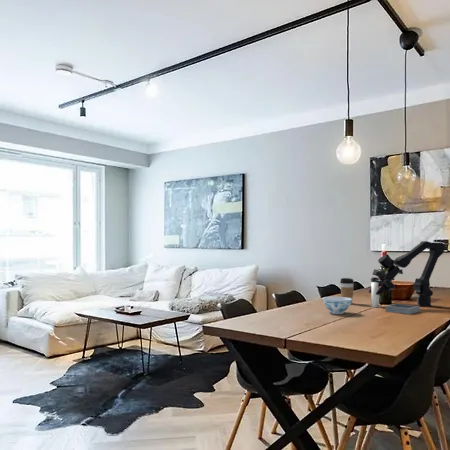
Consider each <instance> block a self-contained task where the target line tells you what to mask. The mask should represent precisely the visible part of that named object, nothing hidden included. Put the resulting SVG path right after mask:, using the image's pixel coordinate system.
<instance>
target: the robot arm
mask: <svg viewBox="0 0 450 450" xmlns="http://www.w3.org/2000/svg"><path fill="white" fill-rule="evenodd" d="M446 248H447V247H446V245H445V243H444V242H440V241H438V242H437V241H435V242H431V241H425V240H424V241H420V243H419V244H417V245H416V246H415V247H413V248H411V250H409V251H408V252H407V253H405V254H402V255H399V256H397V257H396V258H395V259H392V258H391V256H390V255H389V254H384V255H383V256H381V257H379V259H377V262H378V264H379V265H380V266H382V268H384V269H387V270H386V271H385V270H384V269H380V270H379V269H375V268H374V269H373V271H372V275H373V276H372V277H371V278H370V282H378V283H379V290H378V291H377V292H376V295H381V294H383V293H385V292H388V291H391V290H392V291H393V290H394V289H395V284H394V283H393V282H392V281H395V278H396V276H398V275H403V274H404V270H403V269H400V268H407V267H408V266H409V265H410V264H411V262H412V260H413V259H414V258H416V257H417V256H418V255H419V254H421V253H422V252H424V251H426V249H427V250H428V251H429V256H428V259H427V262H426V264H425V265H424V268H423V270H422V274H420V276H419V277H417V278H415V281H414V283H413V284H412V285H413V289H414V291H415V293H416V295H417V297H416V298H417V299H416V301H417V302H416V306H419V307H432V306H433V305H432V297H433V294H434V292H433V291H432V290H431V289H430V286H431V283H430V279H431V276H432V275H433V272H434V269H435V267H436V264H437V262H438V261H439V260H438V259H439V258H440V257H441V256H442V255H443V254H444V252H445V250H446ZM368 293H369V294H371V287H370V288H369V290H368Z"/></svg>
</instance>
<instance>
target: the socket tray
mask: <svg viewBox="0 0 450 450" xmlns="http://www.w3.org/2000/svg"><path fill="white" fill-rule="evenodd" d="M385 312H387V313H395V314H404V315H412V314H416V313H420V306H419V305H413V304H406V303H405V304H404V303H403V304H402V303H393V304H389V305H385Z"/></svg>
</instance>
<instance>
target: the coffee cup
mask: <svg viewBox="0 0 450 450" xmlns="http://www.w3.org/2000/svg"><path fill="white" fill-rule="evenodd" d="M339 283H340V294H341V296H340V297H347V298H351V299H352V301H351V304H350V305H353V299H354V298H353V297H354V288H355V287H354V284H355V281H354V279H353V278H351V277H350V278H348V277H347V278H346V277H343V278H340V282H339Z"/></svg>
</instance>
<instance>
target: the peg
mask: <svg viewBox="0 0 450 450" xmlns="http://www.w3.org/2000/svg"><path fill="white" fill-rule="evenodd" d="M370 282H371V281H370ZM370 285H371V286H370V288H371V293H370V294H371V308H379V307H380V305H379V304H380V303H379V301H380V300H379V299H380V297H379V295H380V294H379V295H376V292H377V291H378V290H379V283H378V282H371V284H370Z"/></svg>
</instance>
